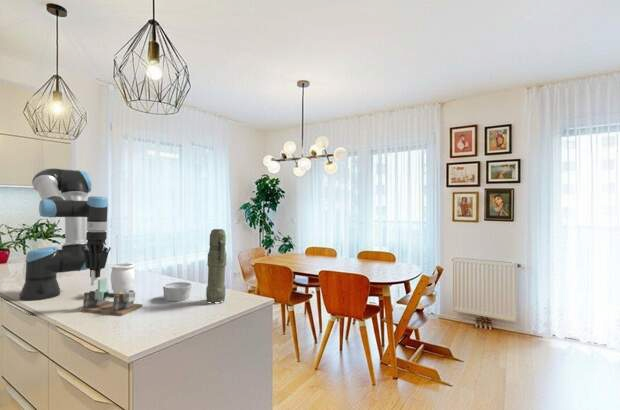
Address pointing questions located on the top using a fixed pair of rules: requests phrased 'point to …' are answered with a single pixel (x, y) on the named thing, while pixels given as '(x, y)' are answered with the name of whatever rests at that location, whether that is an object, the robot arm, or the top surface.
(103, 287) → the mint green stepped block
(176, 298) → the ramekin
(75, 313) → the top surface
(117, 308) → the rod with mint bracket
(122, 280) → the jar
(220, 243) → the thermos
